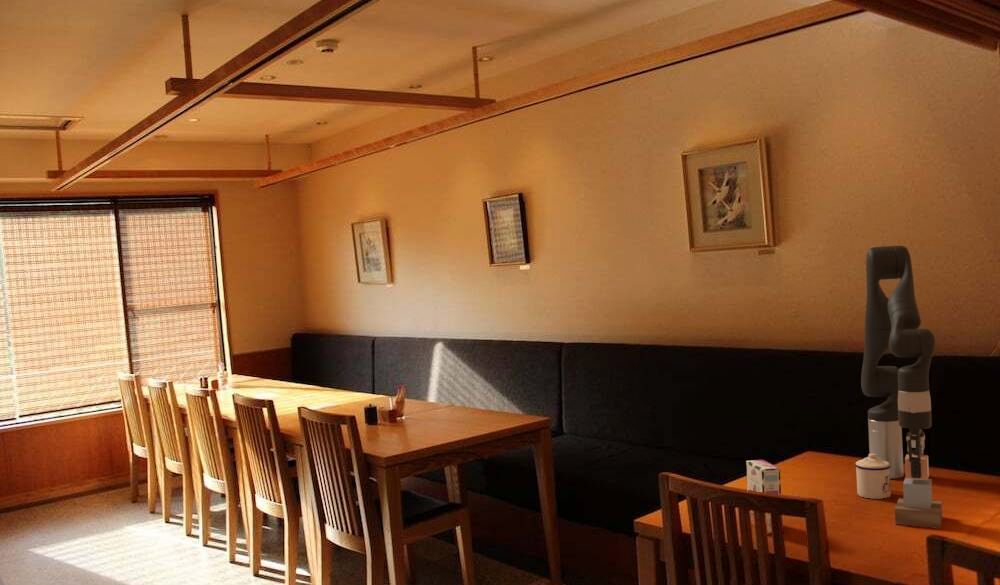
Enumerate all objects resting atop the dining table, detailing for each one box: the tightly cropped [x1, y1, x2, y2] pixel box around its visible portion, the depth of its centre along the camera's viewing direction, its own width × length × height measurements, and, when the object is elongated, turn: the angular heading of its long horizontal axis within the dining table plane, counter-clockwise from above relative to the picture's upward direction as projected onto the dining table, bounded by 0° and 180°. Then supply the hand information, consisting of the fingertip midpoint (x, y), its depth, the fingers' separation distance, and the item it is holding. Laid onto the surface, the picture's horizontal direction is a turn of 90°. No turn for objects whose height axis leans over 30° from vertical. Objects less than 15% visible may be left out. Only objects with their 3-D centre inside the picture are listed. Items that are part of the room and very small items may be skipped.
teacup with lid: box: [854, 453, 892, 500], centre depth 244 cm, size 12×9×12 cm
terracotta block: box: [904, 453, 930, 480], centre depth 219 cm, size 5×5×5 cm
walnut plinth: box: [894, 497, 943, 529], centre depth 219 cm, size 10×10×4 cm
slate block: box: [902, 477, 933, 509], centre depth 219 cm, size 6×6×6 cm
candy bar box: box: [745, 459, 782, 535], centre depth 220 cm, size 11×5×16 cm, turn 5°
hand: (917, 474), depth 219 cm, fingers closed on terracotta block, 5 cm apart
